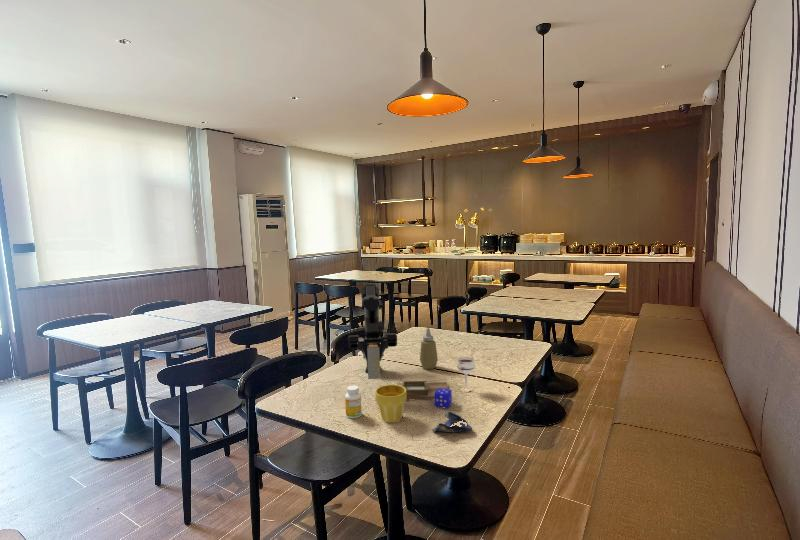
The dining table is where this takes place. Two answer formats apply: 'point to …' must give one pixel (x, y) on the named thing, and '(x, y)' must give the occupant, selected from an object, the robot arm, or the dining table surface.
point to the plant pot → (391, 402)
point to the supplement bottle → (353, 402)
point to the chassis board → (422, 389)
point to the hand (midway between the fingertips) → (373, 360)
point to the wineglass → (465, 366)
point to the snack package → (452, 419)
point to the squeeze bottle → (428, 351)
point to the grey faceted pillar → (373, 361)
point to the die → (443, 398)
